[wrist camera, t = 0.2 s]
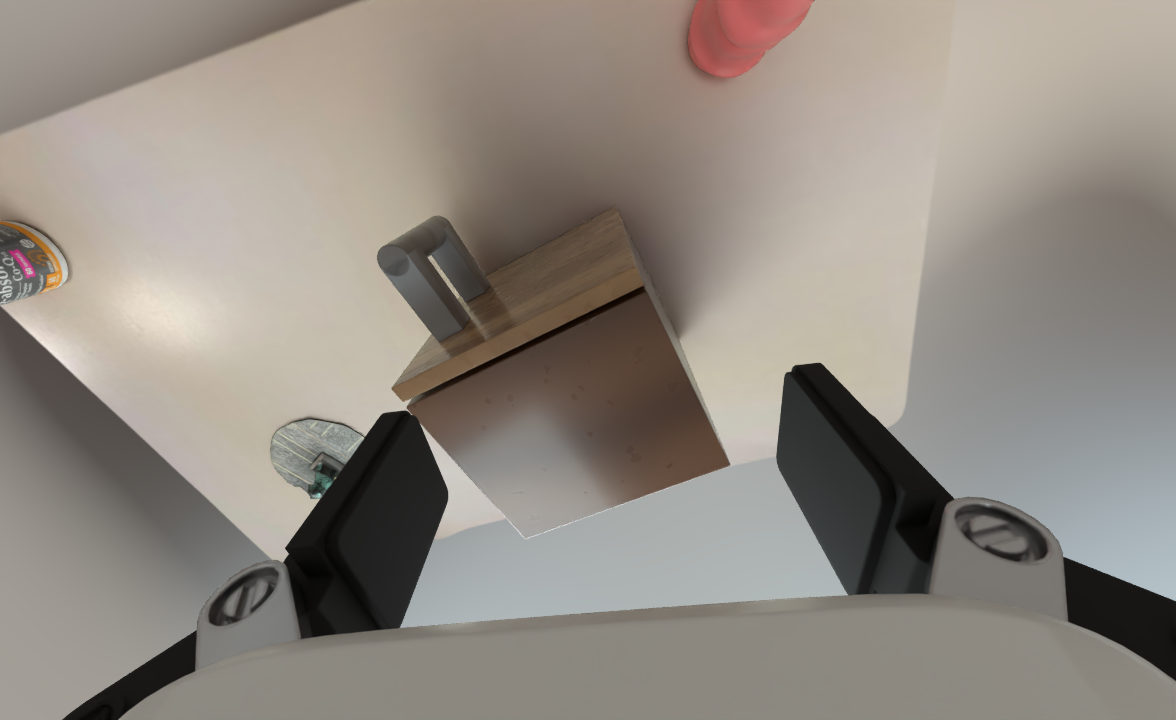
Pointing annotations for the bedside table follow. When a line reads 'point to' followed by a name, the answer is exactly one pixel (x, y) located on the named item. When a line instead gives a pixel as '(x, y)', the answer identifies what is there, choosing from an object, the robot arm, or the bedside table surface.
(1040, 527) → the robot arm
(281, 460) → the sculpture
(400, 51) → the bedside table surface
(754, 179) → the bedside table surface
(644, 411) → the cabinet
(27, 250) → the pill bottle
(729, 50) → the figurine
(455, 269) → the door
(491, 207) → the bedside table surface
